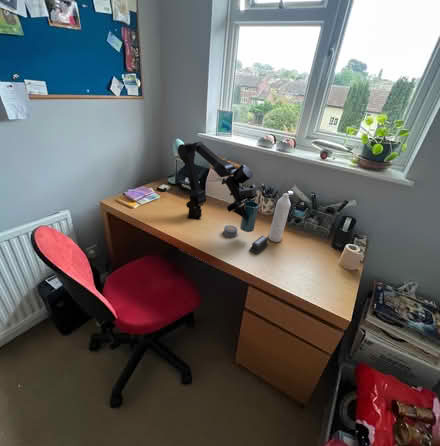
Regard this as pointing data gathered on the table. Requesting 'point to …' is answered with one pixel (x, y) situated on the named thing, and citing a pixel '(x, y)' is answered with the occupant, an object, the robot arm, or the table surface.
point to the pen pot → (249, 216)
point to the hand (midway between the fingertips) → (251, 217)
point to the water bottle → (280, 217)
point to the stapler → (259, 244)
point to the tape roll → (230, 231)
